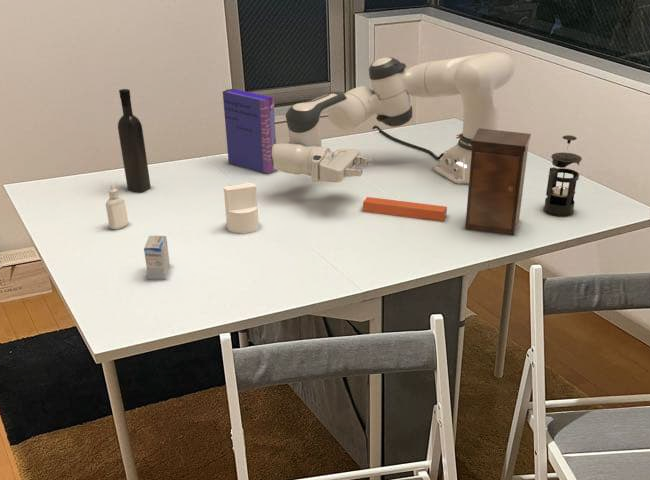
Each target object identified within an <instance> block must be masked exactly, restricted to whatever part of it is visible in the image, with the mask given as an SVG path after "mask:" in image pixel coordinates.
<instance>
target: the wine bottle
mask: <svg viewBox="0 0 650 480" xmlns="http://www.w3.org/2000/svg"><path fill="white" fill-rule="evenodd" d="M118 94H119V98H120V103H121V109H122V116H121V117H120V118H119V119H118V122H117V132H118V137H119V144H120V151H121V156H122V163H123V169H124V175H125V181H126V187H127V190H128V191H131V192H136V193H144V192H145V191H146V190H149V189H150V188H151V187H152V186H151V178H150V172H149V164H148V158H147V152H146V144H145V137H144V130H143V125H142V122H141V121H140V119H139V118H138V117H137V116H136V115H134V113H133V108H132V100H131V97H132V96H131V90H130V89H129V88H128V89H127V88H122V89H119V90H118Z"/></svg>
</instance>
